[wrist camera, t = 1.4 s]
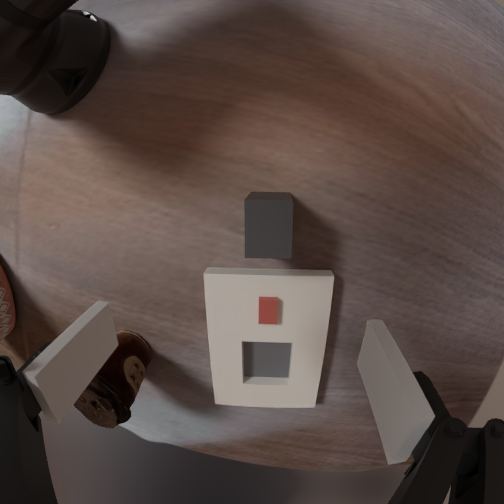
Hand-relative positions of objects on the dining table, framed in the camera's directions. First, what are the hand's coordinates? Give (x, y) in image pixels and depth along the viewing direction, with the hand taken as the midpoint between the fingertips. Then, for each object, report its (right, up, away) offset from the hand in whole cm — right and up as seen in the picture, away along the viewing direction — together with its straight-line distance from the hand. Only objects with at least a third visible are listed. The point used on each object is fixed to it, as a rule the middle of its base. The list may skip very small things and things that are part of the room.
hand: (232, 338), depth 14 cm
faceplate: (+3, -7, +22) cm, 23 cm away
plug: (+3, +8, +18) cm, 20 cm away
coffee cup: (-16, -10, +25) cm, 31 cm away
